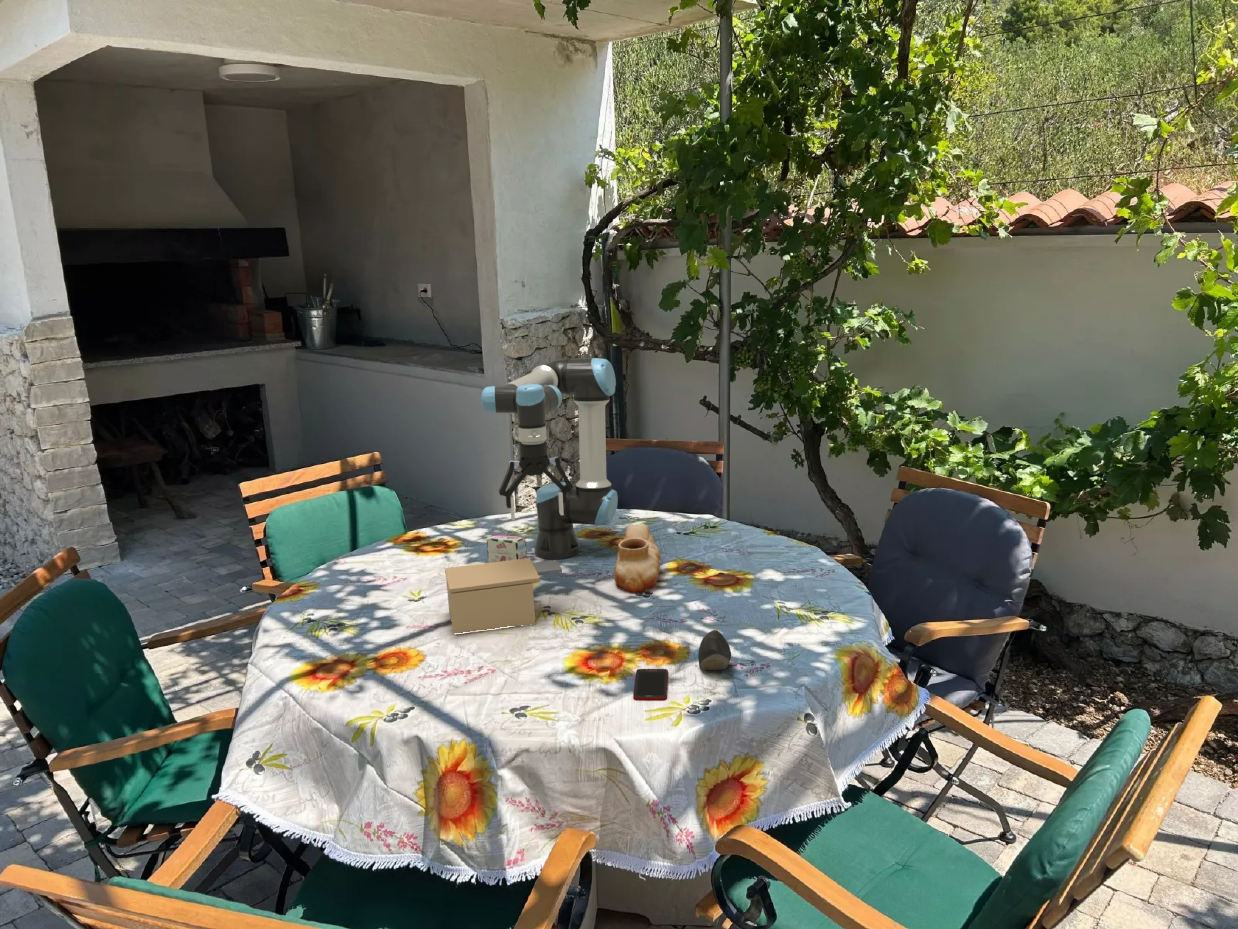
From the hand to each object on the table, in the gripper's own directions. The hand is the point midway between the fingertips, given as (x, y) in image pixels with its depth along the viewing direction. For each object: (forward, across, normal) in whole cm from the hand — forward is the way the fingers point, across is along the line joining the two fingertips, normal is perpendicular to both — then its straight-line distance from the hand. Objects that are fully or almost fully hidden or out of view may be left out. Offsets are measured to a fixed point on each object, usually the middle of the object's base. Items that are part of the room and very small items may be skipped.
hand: (537, 516), depth 260 cm
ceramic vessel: (+27, +32, +14) cm, 44 cm away
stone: (+28, +34, -51) cm, 67 cm away
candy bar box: (+28, -7, +19) cm, 34 cm away
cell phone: (+28, +17, -54) cm, 63 cm away
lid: (+15, -10, -2) cm, 19 cm away
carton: (+28, -15, -2) cm, 31 cm away
